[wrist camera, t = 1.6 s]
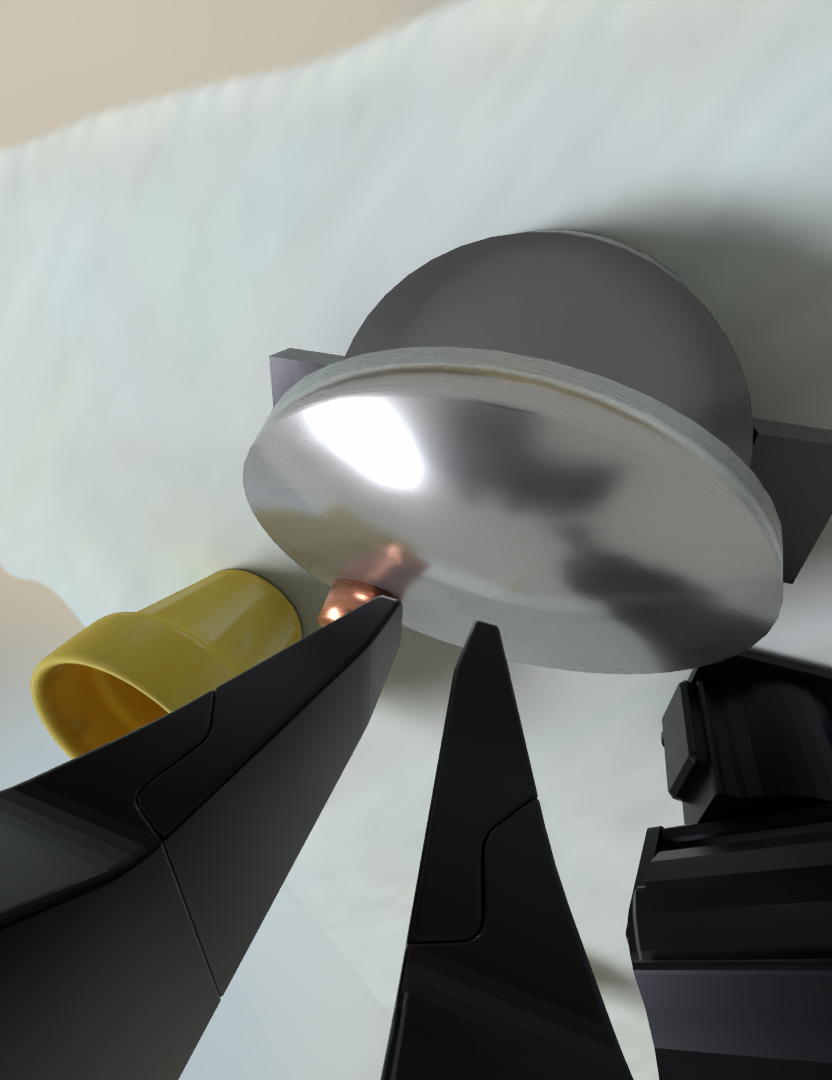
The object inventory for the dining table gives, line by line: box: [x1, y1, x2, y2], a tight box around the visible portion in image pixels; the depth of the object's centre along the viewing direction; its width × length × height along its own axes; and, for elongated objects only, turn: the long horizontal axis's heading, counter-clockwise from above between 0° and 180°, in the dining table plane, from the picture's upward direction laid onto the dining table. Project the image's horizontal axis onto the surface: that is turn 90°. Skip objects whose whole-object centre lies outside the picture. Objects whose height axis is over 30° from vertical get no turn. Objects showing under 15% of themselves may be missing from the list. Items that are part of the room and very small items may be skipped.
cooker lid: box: [243, 347, 783, 674], centre depth 14 cm, size 13×13×3 cm
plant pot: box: [31, 569, 302, 759], centre depth 27 cm, size 10×10×10 cm
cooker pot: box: [269, 230, 832, 584], centre depth 18 cm, size 18×13×4 cm
